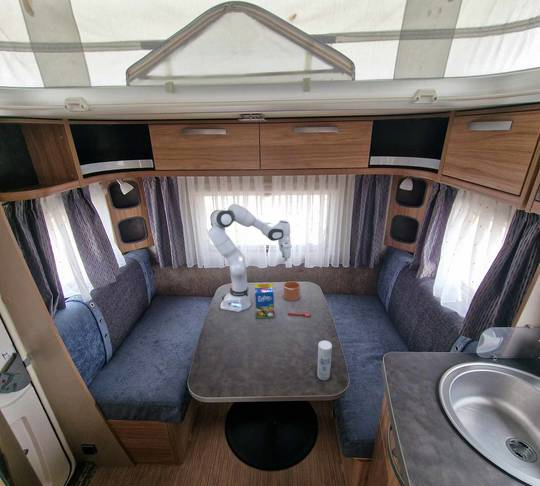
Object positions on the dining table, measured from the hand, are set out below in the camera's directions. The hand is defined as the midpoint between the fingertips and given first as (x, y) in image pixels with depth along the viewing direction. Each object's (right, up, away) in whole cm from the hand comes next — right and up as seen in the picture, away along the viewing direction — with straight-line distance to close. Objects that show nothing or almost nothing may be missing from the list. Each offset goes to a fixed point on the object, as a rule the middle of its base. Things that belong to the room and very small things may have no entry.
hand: (284, 259), depth 215 cm
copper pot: (+6, -29, +2) cm, 29 cm away
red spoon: (+9, -39, -20) cm, 45 cm away
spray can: (+16, -52, -74) cm, 91 cm away
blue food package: (-14, -40, -19) cm, 46 cm away
